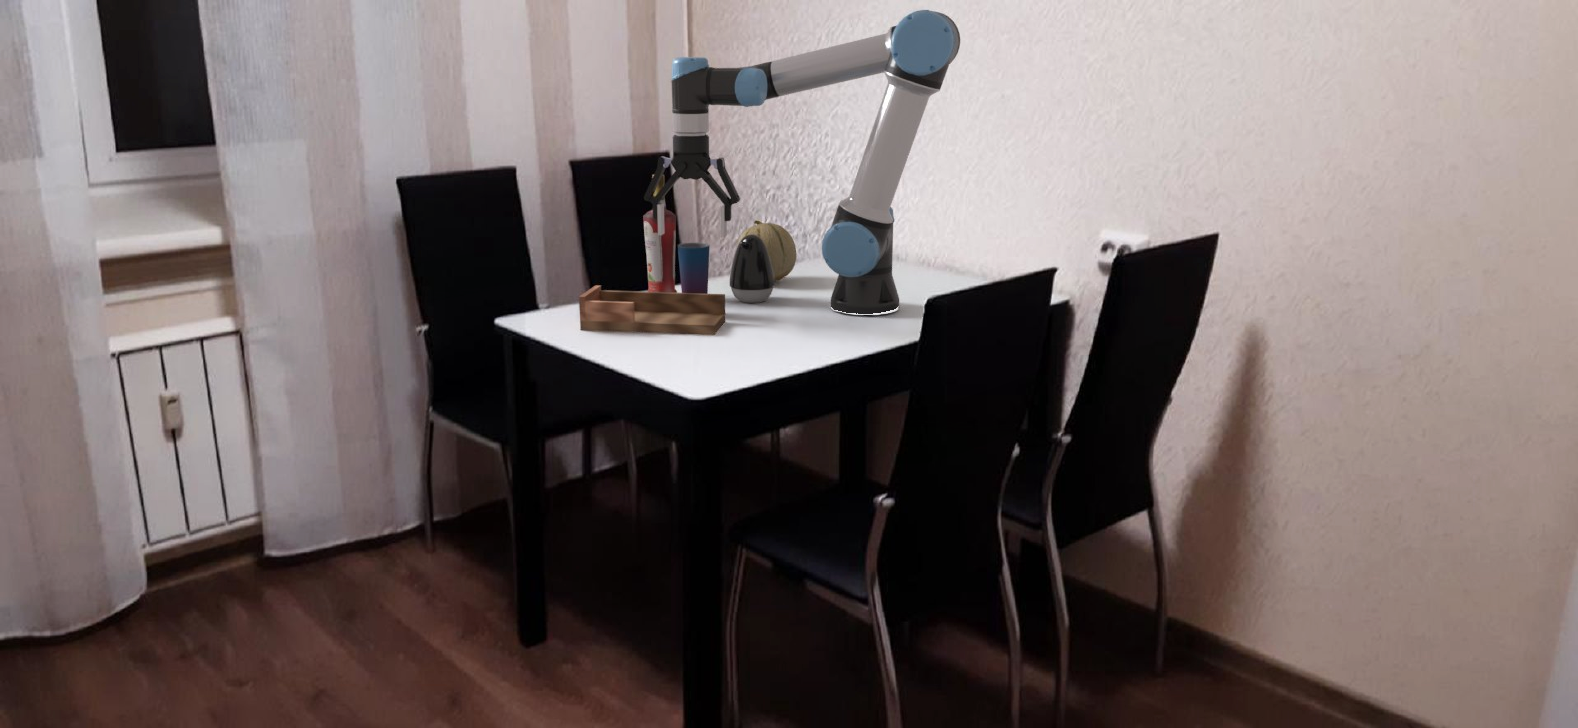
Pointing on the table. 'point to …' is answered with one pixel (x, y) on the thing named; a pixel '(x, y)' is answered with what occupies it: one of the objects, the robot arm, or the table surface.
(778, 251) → the cantaloupe
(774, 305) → the table surface
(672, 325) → the board
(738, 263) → the black egg-shaped device
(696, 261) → the cup
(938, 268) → the table surface
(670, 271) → the liquor
